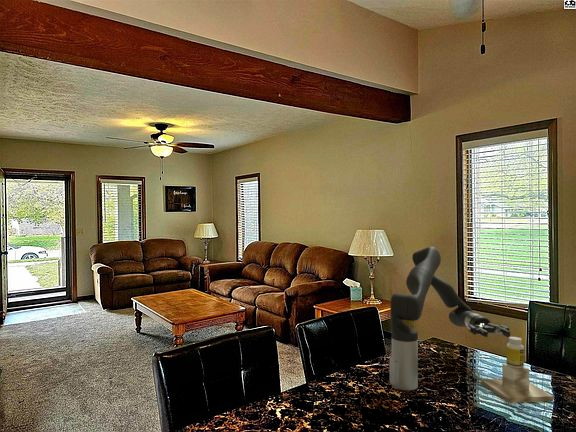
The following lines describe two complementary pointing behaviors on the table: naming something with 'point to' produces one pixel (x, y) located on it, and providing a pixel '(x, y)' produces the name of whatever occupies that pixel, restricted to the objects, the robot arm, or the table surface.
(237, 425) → the table surface
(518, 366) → the supplement bottle
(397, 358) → the robot arm
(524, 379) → the pedestal
